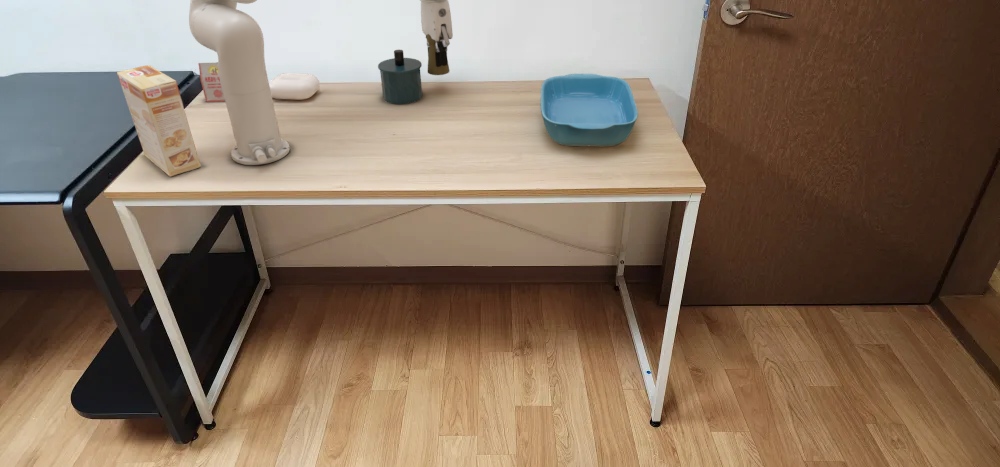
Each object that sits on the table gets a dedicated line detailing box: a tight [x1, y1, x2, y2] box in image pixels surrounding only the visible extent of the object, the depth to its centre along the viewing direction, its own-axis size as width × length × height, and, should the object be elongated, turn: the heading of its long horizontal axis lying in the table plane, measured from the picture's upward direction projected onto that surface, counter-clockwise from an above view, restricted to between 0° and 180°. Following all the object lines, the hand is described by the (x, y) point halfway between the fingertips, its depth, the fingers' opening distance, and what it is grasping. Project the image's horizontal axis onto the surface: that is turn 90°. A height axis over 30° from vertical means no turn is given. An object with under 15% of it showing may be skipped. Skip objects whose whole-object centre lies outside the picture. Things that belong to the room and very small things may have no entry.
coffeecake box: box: [116, 64, 202, 177], centre depth 137 cm, size 15×7×20 cm, turn 44°
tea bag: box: [197, 62, 225, 103], centre depth 171 cm, size 4×7×10 cm, turn 95°
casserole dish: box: [540, 73, 639, 147], centre depth 156 cm, size 37×22×7 cm, turn 177°
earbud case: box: [268, 72, 321, 101], centre depth 174 cm, size 10×13×5 cm
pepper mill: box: [426, 34, 450, 76], centre depth 173 cm, size 6×6×11 cm
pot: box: [379, 68, 423, 105], centre depth 172 cm, size 10×10×8 cm
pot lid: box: [377, 49, 422, 74], centre depth 168 cm, size 11×11×5 cm
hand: (437, 62), depth 174 cm, fingers closed on pepper mill, 4 cm apart
